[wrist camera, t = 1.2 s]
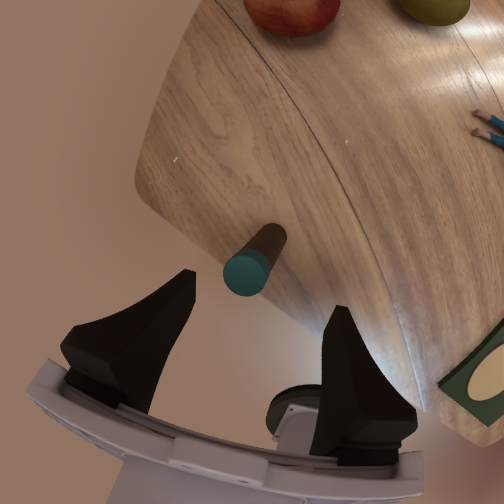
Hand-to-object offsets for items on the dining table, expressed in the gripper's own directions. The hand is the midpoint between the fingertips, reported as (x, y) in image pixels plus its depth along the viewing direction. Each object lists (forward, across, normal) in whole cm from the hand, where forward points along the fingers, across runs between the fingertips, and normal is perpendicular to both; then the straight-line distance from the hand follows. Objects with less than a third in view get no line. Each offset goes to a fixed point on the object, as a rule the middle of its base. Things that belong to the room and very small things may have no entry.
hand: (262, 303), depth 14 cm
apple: (+19, -10, -24) cm, 32 cm away
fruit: (+18, +2, -18) cm, 26 cm away
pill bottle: (+13, +1, +4) cm, 13 cm away
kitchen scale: (+7, -36, +13) cm, 39 cm away
